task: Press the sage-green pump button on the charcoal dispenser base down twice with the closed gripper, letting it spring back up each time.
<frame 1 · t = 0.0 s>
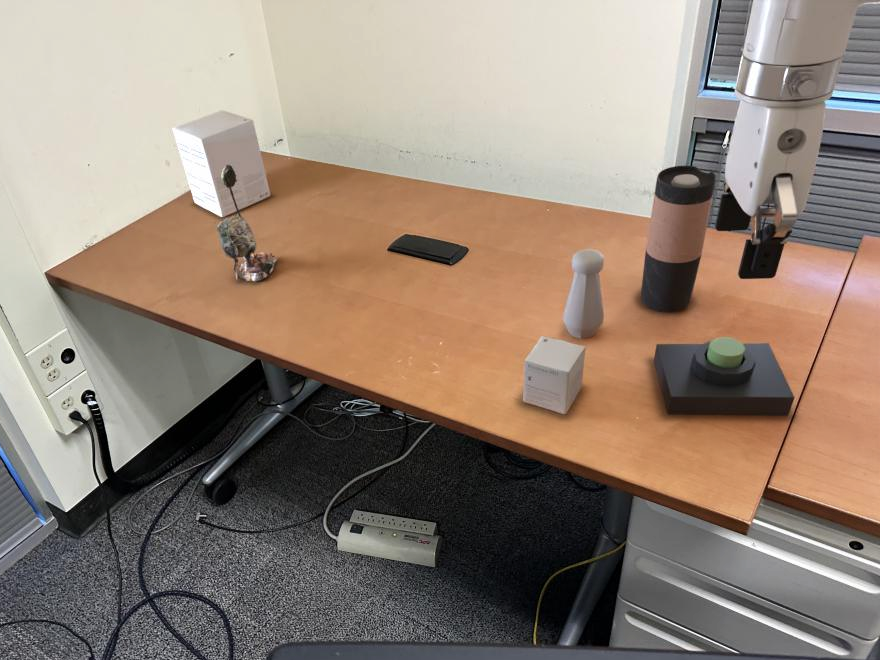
hand: (742, 252, 70), 24 cm above the table, tool pointing down, fingers open, 9 cm apart
supplement box: (232, 200, 157), on the table
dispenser: (716, 386, 90), on the table
salt shaker: (581, 331, 103), on the table
travel mug: (664, 300, 106), on the table
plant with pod: (254, 273, 129), on the table
product box: (552, 396, 93), on the table
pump: (725, 352, 86), point 6 cm above the table, slide at 0.1 cm
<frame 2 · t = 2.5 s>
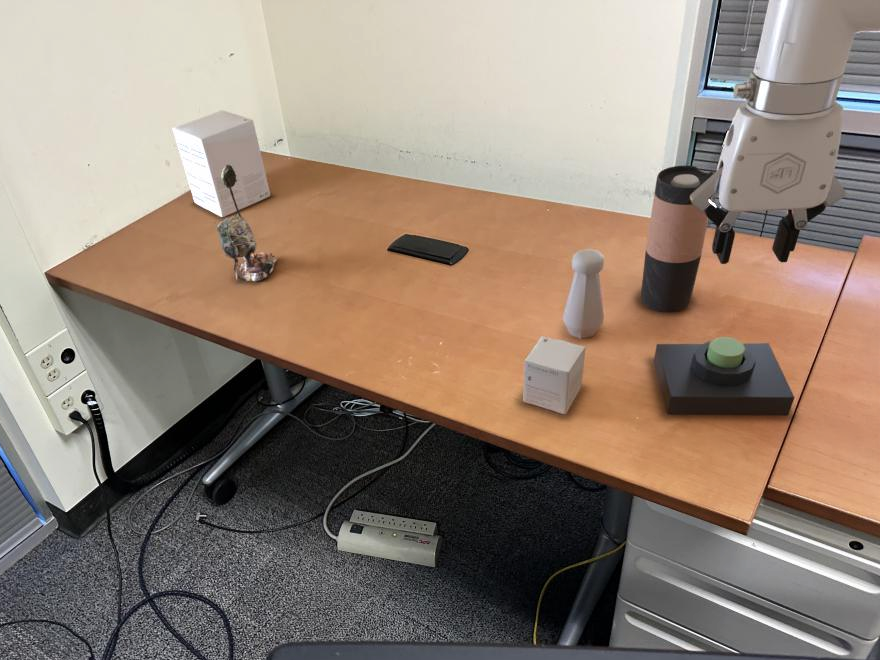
hand: (750, 255, 78), 19 cm above the table, tool pointing down, fingers open, 5 cm apart
nothing on the table moved.
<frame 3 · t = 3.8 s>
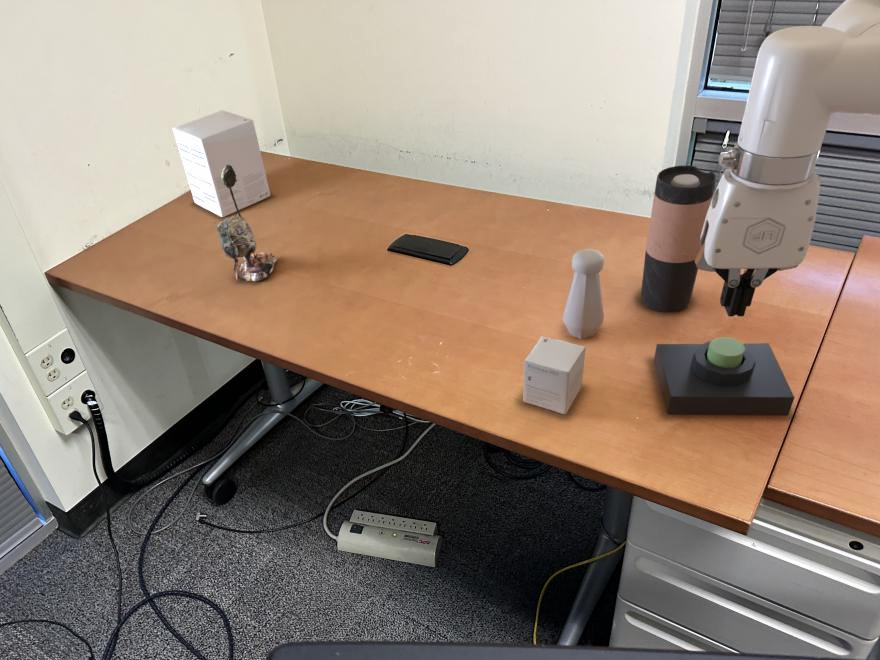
hand: (732, 309, 82), 12 cm above the table, tool pointing down, fingers closed
nothing on the table moved.
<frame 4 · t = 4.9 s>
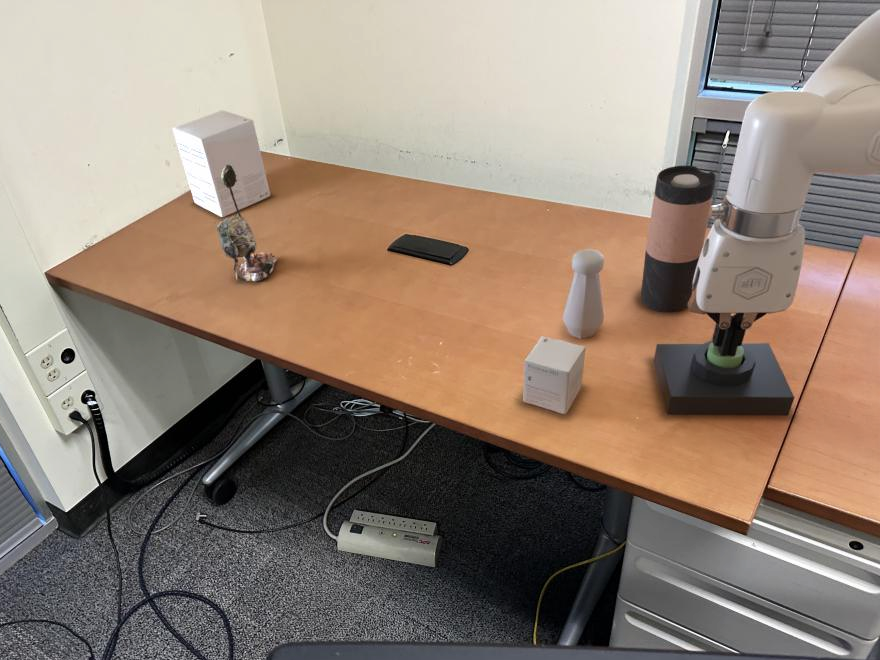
hand: (724, 348, 86), 6 cm above the table, tool pointing down, fingers closed
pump: (724, 355, 87), point 5 cm above the table, slide at -0.4 cm, touching gripper
everything else where it was.
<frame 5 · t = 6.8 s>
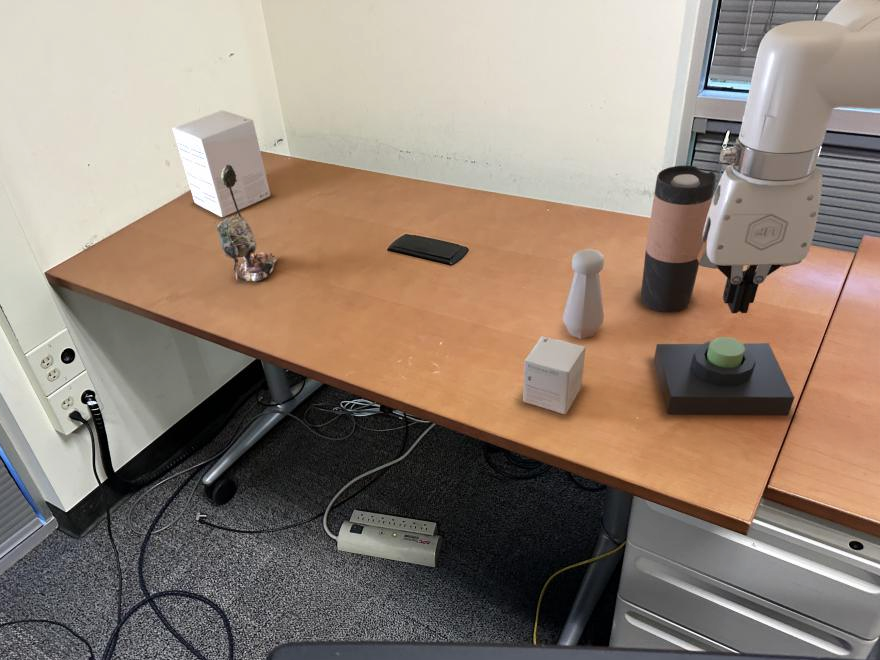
hand: (736, 306, 82), 13 cm above the table, tool pointing down, fingers closed
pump: (725, 352, 86), point 6 cm above the table, slide at 0.1 cm
everything else where it was.
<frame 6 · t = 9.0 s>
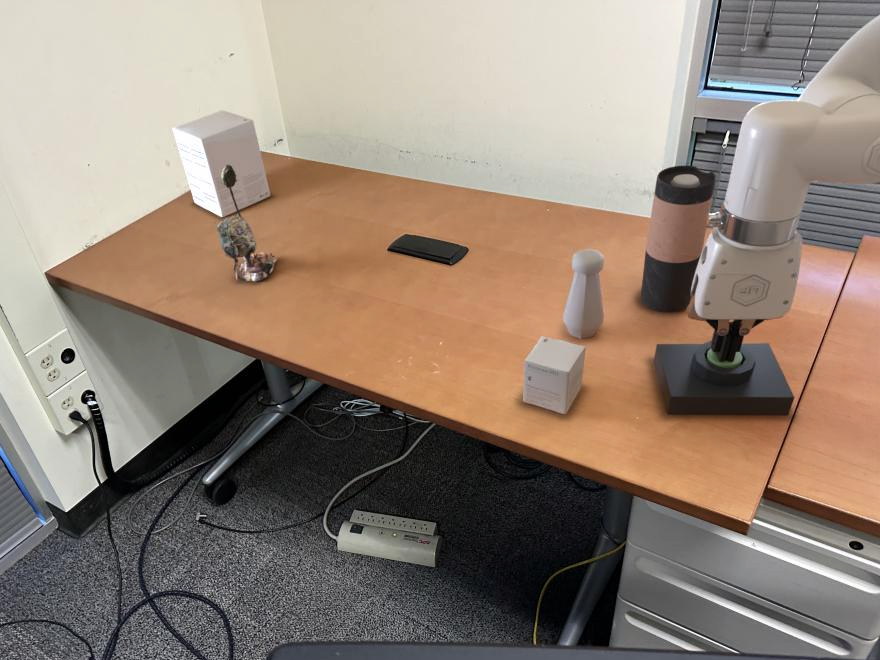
hand: (723, 354, 87), 5 cm above the table, tool pointing down, fingers closed
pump: (723, 361, 87), point 4 cm above the table, slide at -1.3 cm, touching gripper
everything else where it was.
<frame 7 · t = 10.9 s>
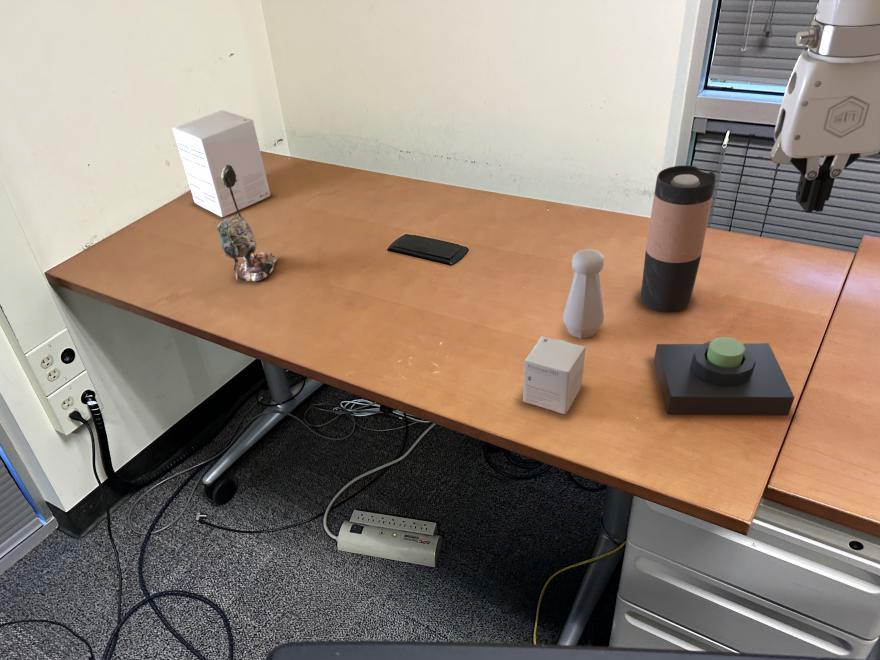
hand: (809, 206, 80), 22 cm above the table, tool pointing down, fingers closed
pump: (725, 352, 86), point 6 cm above the table, slide at 0.1 cm
everything else where it was.
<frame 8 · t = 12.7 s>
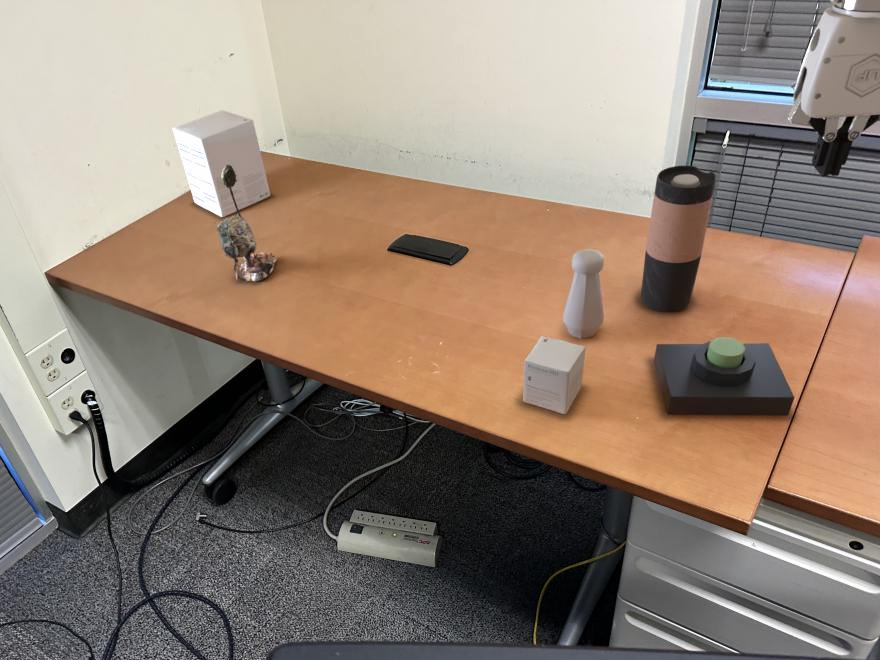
hand: (825, 171, 79), 25 cm above the table, tool pointing down, fingers closed
nothing on the table moved.
at the end: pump pushed in 1.3 cm at the most during the clip, back to where it started at the end; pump slide at 0.1 cm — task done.
